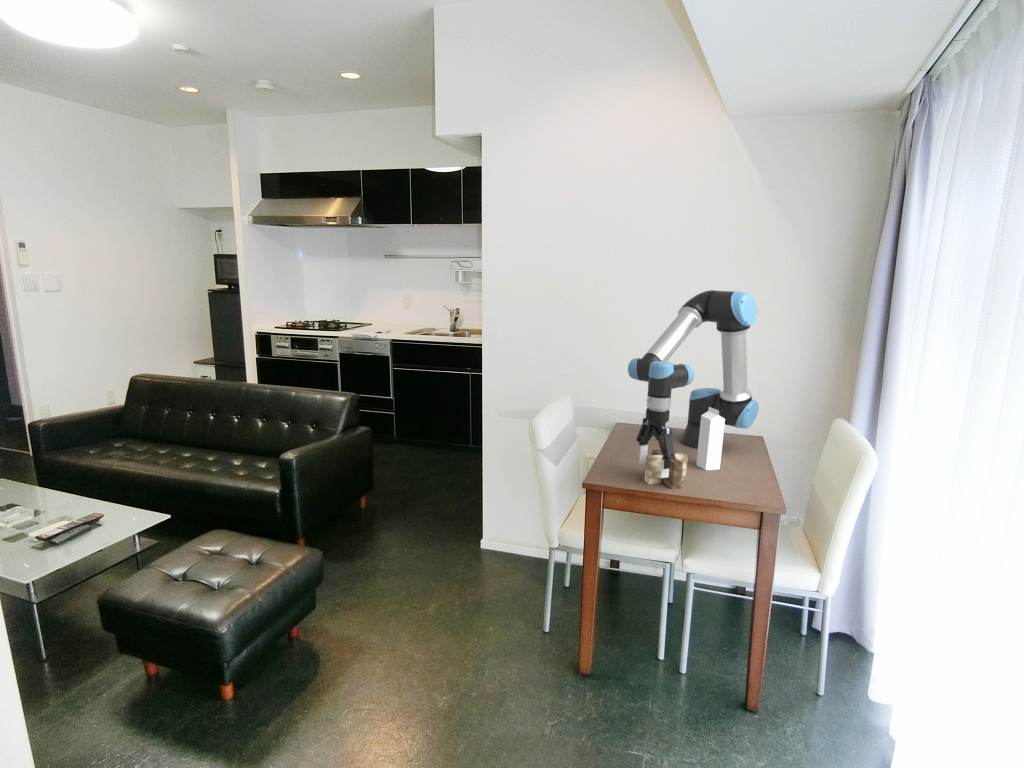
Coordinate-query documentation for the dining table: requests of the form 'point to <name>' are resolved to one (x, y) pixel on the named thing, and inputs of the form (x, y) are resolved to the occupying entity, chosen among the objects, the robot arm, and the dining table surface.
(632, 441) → the dining table surface
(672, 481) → the slotted base
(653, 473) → the cross plate
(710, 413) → the milk
